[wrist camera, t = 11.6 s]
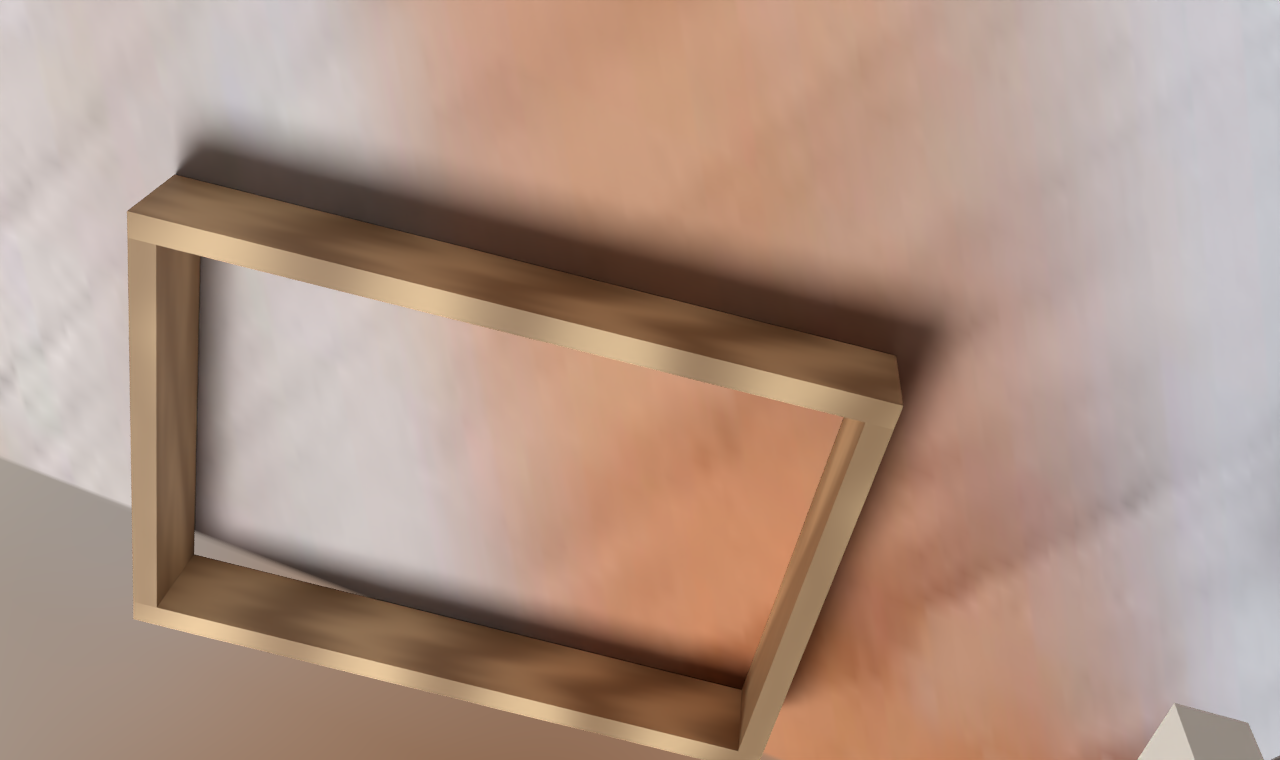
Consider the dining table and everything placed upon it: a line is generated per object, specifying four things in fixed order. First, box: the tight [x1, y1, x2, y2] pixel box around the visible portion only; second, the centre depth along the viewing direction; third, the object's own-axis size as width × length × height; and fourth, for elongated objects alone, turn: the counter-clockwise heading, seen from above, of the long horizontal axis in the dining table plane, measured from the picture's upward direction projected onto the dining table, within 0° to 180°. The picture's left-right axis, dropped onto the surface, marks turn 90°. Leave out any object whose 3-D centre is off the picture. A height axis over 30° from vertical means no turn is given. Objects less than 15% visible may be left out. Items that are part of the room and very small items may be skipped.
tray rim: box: [127, 175, 903, 760], centre depth 46 cm, size 27×19×4 cm
